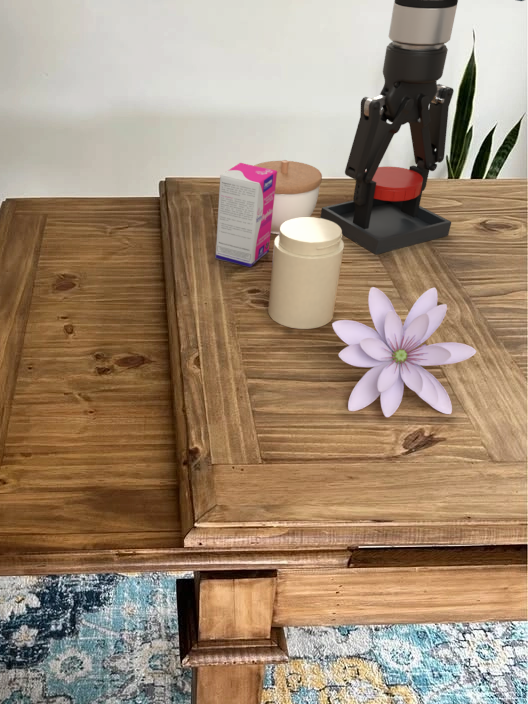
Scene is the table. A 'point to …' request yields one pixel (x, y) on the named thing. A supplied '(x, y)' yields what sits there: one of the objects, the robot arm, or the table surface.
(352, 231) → the tray
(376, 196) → the jam lid
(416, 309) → the water lily
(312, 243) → the jam jar
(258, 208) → the supplement box
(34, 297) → the table surface
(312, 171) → the trinket box
